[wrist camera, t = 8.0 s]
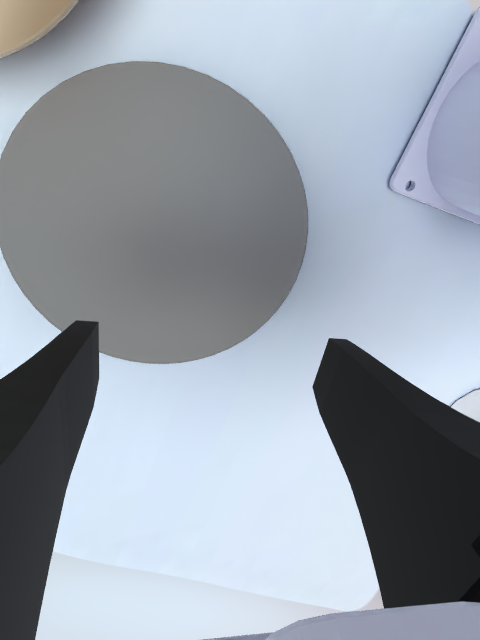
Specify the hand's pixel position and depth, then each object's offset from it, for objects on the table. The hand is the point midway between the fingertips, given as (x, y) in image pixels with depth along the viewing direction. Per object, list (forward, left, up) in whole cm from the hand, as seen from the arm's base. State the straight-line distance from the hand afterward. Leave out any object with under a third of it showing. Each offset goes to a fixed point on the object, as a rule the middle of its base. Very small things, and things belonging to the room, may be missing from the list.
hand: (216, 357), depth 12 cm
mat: (+2, 0, -9) cm, 10 cm away
